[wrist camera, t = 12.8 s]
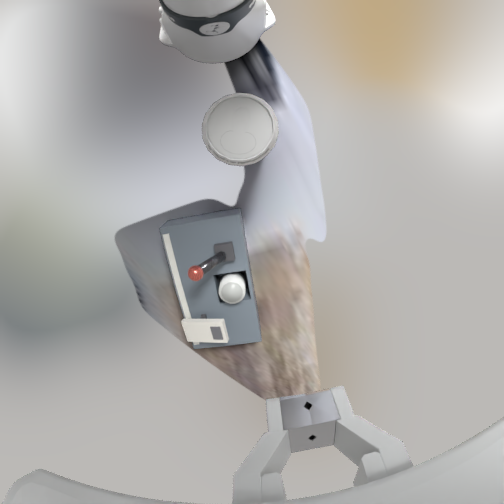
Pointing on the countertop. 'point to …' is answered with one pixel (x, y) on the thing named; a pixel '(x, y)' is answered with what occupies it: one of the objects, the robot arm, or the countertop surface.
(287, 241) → the countertop surface
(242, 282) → the button
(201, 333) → the rocker
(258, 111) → the supplement can
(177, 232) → the console
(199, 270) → the lever
